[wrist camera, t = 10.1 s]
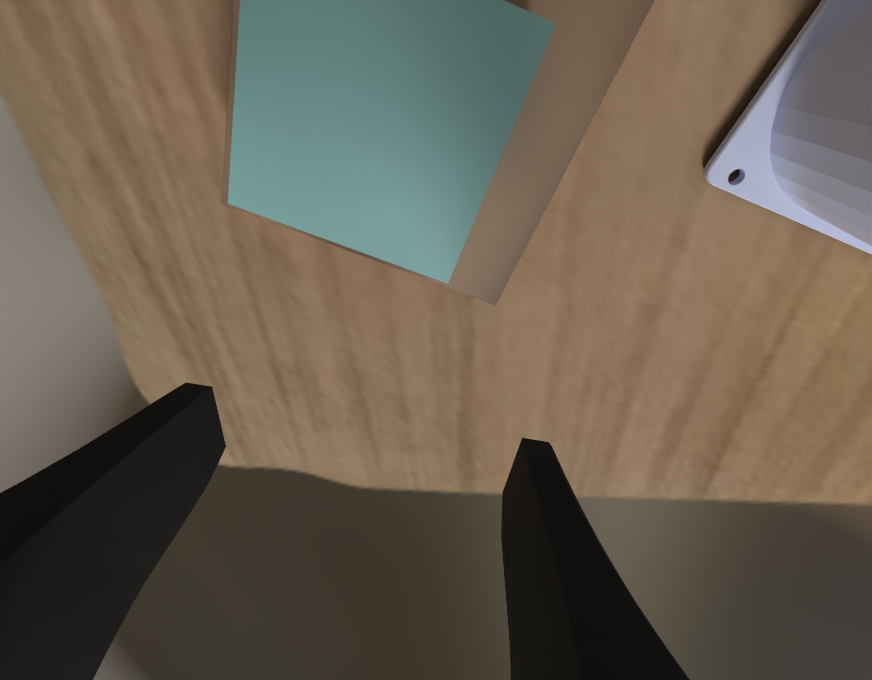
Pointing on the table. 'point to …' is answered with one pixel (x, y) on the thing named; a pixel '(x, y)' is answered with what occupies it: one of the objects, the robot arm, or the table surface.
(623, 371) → the table surface
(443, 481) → the table surface
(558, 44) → the walnut base block
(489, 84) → the teal cube
